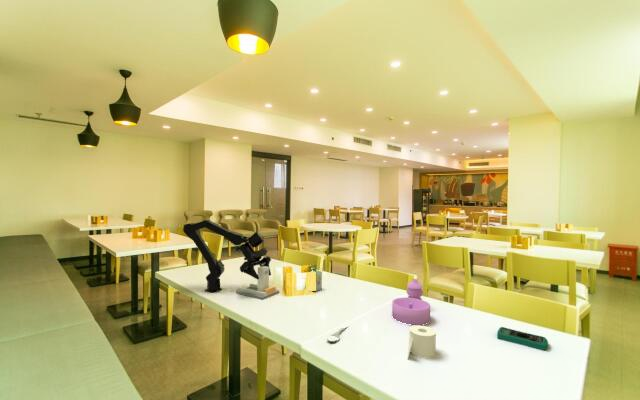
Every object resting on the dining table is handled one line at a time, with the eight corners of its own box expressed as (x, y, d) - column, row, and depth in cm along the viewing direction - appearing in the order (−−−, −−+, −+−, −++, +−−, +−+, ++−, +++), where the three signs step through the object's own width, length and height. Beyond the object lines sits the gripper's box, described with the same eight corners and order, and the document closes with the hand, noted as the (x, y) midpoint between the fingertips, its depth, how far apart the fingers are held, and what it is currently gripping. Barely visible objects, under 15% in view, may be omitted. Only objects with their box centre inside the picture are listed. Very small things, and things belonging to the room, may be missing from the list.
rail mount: (236, 293, 158) (236, 285, 158) (253, 287, 170) (253, 280, 170) (262, 299, 149) (262, 291, 149) (279, 292, 161) (279, 285, 161)
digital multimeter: (547, 353, 102) (547, 344, 102) (496, 339, 111) (496, 331, 111) (548, 345, 108) (548, 336, 108) (499, 333, 117) (499, 325, 117)
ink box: (314, 292, 162) (314, 267, 162) (308, 291, 164) (308, 266, 164) (321, 289, 167) (322, 265, 167) (316, 288, 170) (316, 264, 170)
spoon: (323, 343, 106) (323, 339, 106) (345, 322, 125) (345, 318, 125) (334, 346, 104) (335, 341, 104) (354, 324, 123) (355, 320, 123)
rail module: (257, 292, 157) (257, 267, 157) (262, 290, 160) (262, 265, 160) (263, 293, 155) (263, 268, 155) (268, 291, 158) (268, 266, 158)
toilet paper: (407, 359, 96) (407, 337, 96) (410, 343, 106) (410, 323, 106) (435, 364, 93) (435, 342, 93) (435, 348, 103) (435, 327, 103)
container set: (428, 328, 119) (429, 294, 119) (389, 322, 125) (389, 289, 125) (432, 308, 142) (432, 279, 142) (398, 303, 148) (399, 275, 148)
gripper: (244, 245, 152) (260, 271, 146) (268, 241, 168) (284, 264, 162) (232, 259, 156) (248, 284, 150) (257, 254, 172) (272, 276, 166)
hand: (264, 277), depth 157 cm, fingers open, 9 cm apart
